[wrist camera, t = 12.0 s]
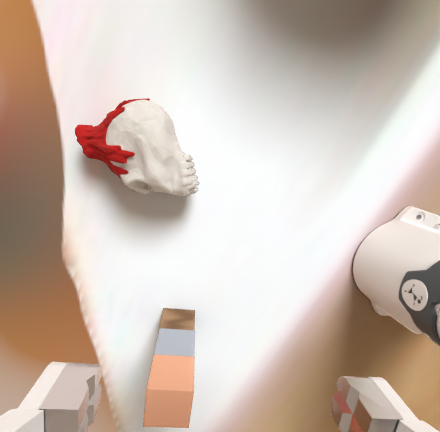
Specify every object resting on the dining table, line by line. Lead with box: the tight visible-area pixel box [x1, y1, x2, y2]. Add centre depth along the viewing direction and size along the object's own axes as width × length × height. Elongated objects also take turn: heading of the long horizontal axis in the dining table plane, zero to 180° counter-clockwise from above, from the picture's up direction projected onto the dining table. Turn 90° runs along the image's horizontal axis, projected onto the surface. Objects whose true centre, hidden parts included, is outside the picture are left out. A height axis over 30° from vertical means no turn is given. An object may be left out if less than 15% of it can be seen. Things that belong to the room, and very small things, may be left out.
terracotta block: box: [143, 354, 194, 428], centre depth 31 cm, size 5×5×5 cm
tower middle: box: [154, 328, 195, 357], centre depth 36 cm, size 5×5×5 cm
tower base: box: [159, 308, 195, 331], centre depth 41 cm, size 5×5×5 cm
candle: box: [75, 99, 199, 196], centre depth 33 cm, size 9×11×15 cm
